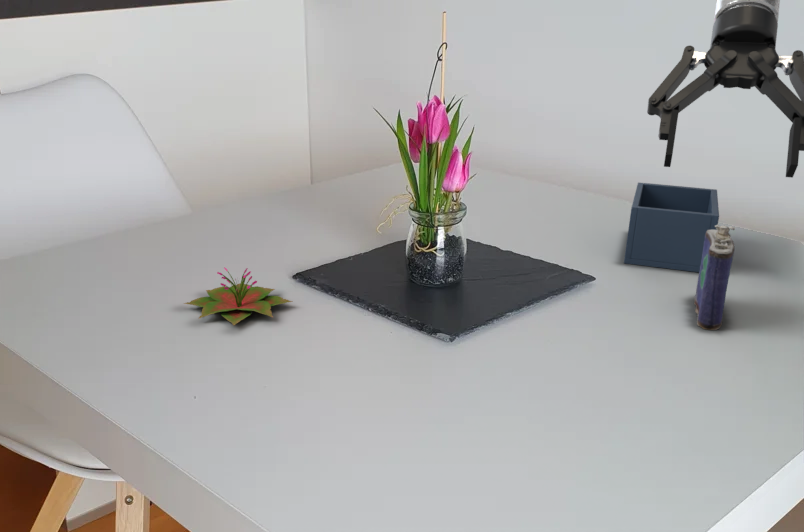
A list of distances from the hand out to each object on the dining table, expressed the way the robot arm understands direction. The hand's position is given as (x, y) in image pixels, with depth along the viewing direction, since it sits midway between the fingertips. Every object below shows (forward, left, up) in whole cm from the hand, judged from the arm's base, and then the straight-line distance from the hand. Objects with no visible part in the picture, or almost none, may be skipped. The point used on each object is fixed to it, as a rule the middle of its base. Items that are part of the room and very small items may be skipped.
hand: (728, 166), depth 99 cm
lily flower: (+51, +28, -15) cm, 60 cm away
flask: (0, +10, -15) cm, 18 cm away
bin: (+5, -11, -15) cm, 19 cm away
